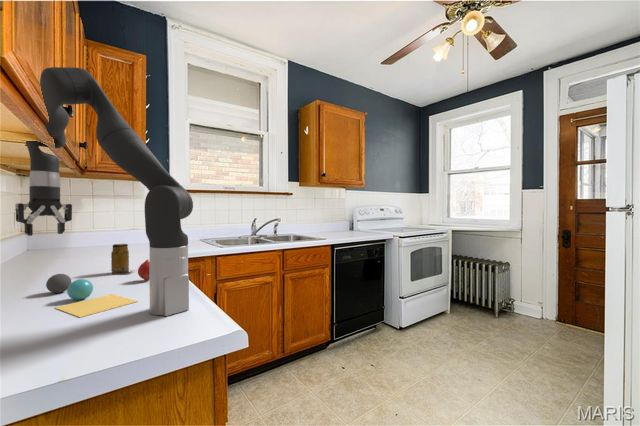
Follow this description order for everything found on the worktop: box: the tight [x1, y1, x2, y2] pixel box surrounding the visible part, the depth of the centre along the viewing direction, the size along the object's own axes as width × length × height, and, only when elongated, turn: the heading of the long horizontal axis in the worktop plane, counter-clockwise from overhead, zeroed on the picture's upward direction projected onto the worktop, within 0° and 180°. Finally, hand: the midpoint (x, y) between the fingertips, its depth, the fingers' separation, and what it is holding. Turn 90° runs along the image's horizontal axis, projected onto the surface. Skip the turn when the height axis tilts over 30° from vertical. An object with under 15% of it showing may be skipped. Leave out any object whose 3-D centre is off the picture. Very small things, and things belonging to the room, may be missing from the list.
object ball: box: [66, 278, 94, 301], centre depth 86 cm, size 6×6×6 cm
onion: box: [137, 259, 150, 282], centre depth 109 cm, size 6×6×8 cm
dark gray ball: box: [45, 273, 72, 294], centre depth 93 cm, size 6×6×6 cm
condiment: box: [106, 243, 138, 276], centre depth 121 cm, size 7×8×12 cm
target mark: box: [54, 294, 139, 318], centre depth 82 cm, size 14×14×1 cm
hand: (45, 234), depth 97 cm, fingers open, 7 cm apart
